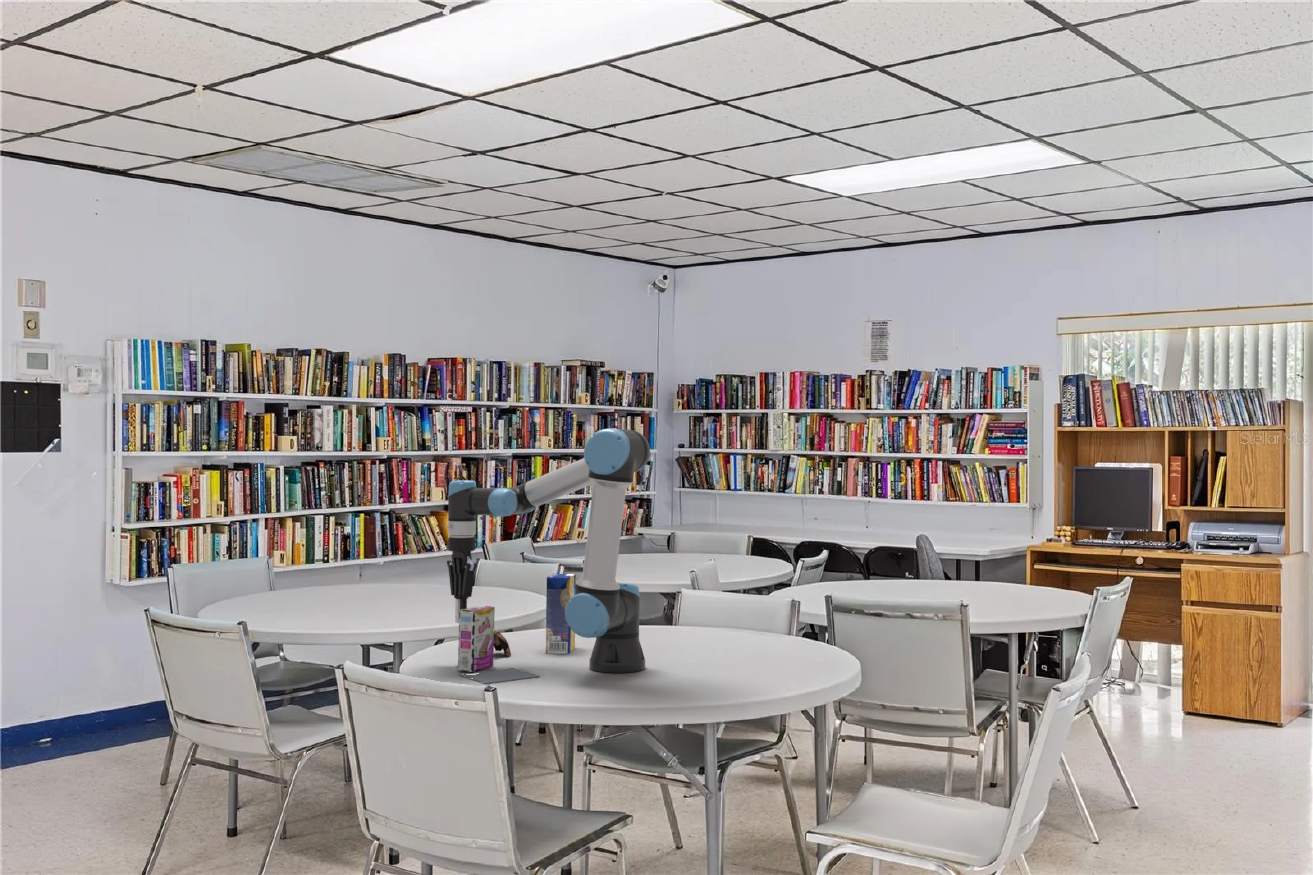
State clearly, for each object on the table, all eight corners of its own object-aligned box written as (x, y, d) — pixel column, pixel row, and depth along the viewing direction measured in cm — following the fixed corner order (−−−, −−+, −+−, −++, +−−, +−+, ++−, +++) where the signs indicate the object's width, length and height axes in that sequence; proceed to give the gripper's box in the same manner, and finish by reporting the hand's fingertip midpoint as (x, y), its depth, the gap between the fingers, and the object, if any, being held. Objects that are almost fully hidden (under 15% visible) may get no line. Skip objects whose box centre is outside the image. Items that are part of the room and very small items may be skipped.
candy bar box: (473, 673, 299) (474, 610, 299) (457, 672, 300) (457, 609, 301) (494, 666, 309) (495, 605, 309) (478, 665, 311) (479, 604, 311)
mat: (540, 677, 294) (540, 675, 294) (485, 684, 284) (485, 683, 284) (512, 668, 305) (512, 667, 305) (459, 675, 295) (459, 674, 295)
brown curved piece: (510, 661, 320) (496, 636, 319) (481, 674, 322) (467, 650, 320) (517, 643, 332) (504, 619, 330) (489, 656, 333) (476, 633, 332)
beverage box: (574, 647, 340) (575, 574, 341) (569, 653, 329) (569, 577, 330) (552, 647, 341) (553, 573, 341) (545, 653, 330) (546, 577, 330)
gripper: (438, 535, 315) (437, 620, 315) (460, 538, 305) (459, 626, 305) (462, 534, 320) (461, 618, 319) (485, 537, 310) (484, 624, 309)
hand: (460, 622), depth 312 cm, fingers closed
